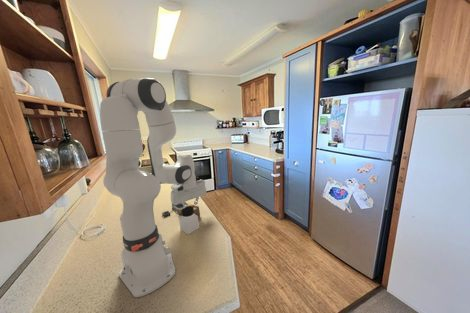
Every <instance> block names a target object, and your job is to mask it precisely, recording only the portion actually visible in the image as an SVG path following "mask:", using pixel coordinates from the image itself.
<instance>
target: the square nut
mask: <svg viewBox="0 0 470 313" xmlns="http://www.w3.org/2000/svg"><path fill="white" fill-rule="evenodd" d="M161 214H162V217H164V218H166V217H168V216H171V211H169V210H166V211H163V212H161Z"/></svg>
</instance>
